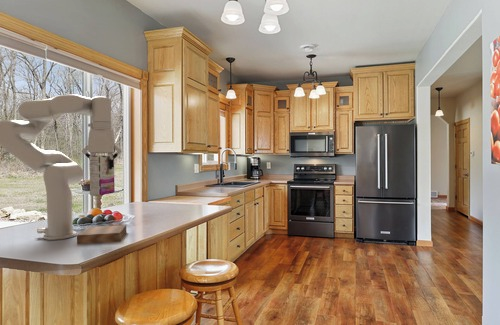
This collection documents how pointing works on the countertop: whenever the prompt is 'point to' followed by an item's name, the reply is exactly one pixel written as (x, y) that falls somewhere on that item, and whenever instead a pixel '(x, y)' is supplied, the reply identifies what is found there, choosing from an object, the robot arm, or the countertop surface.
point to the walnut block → (101, 234)
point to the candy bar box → (101, 175)
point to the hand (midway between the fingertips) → (102, 168)
